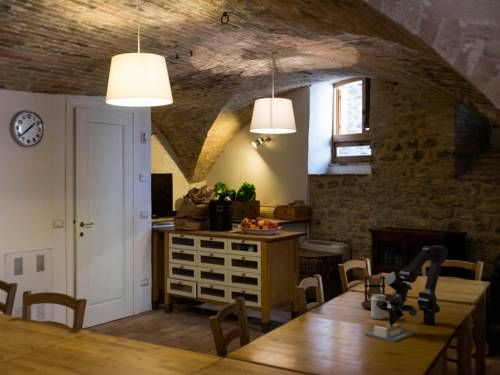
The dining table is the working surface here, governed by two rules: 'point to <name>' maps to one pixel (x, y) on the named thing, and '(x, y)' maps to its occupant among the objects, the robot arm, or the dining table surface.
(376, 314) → the can
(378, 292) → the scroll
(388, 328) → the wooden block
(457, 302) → the dining table surface
